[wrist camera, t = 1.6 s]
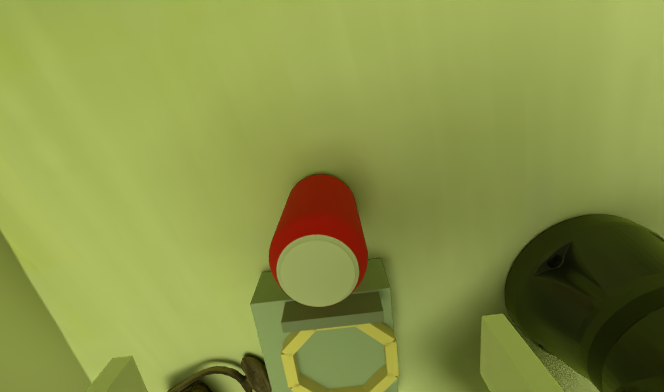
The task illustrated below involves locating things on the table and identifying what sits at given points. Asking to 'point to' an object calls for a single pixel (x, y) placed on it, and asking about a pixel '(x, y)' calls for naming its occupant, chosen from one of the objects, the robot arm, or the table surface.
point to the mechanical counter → (252, 380)
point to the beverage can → (319, 243)
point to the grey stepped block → (329, 338)
